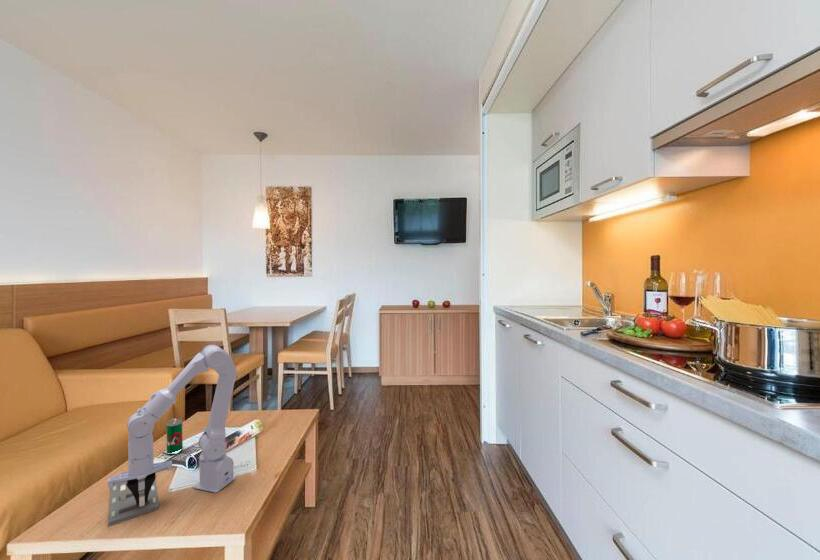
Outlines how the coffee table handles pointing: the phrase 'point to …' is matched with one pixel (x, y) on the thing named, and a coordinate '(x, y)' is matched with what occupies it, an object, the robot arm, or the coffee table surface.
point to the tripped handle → (141, 499)
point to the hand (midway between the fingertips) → (141, 501)
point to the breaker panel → (130, 502)
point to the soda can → (174, 435)
